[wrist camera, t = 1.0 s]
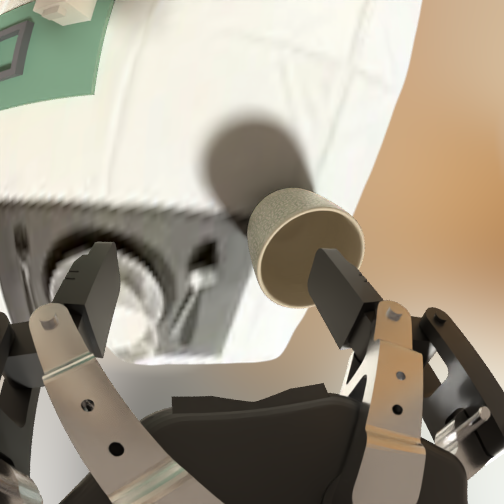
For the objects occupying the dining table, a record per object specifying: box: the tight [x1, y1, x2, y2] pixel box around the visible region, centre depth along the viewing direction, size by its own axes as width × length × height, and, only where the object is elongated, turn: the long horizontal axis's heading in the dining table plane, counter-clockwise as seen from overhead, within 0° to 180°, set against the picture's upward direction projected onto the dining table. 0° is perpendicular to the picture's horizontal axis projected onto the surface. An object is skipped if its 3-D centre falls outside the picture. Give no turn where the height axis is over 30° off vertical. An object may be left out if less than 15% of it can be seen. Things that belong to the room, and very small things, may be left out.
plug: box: [33, 0, 97, 26], centre depth 13 cm, size 5×4×8 cm
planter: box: [247, 188, 365, 309], centre depth 32 cm, size 12×12×11 cm
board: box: [0, 0, 115, 111], centre depth 16 cm, size 16×20×3 cm
